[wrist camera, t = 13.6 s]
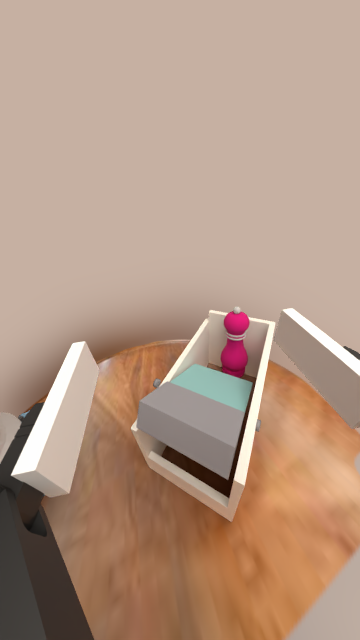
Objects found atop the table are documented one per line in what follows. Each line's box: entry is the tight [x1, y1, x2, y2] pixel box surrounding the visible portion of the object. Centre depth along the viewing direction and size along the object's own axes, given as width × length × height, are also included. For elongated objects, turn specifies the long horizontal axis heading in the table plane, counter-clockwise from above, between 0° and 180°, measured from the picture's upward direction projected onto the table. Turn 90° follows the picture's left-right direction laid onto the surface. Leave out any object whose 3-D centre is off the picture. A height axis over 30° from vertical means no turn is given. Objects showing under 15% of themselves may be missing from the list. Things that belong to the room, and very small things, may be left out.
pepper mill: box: [220, 307, 250, 378], centre depth 48 cm, size 7×7×20 cm
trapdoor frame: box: [130, 310, 275, 522], centre depth 42 cm, size 19×34×20 cm, turn 152°
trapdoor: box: [136, 364, 253, 480], centre depth 35 cm, size 14×22×4 cm, turn 152°
